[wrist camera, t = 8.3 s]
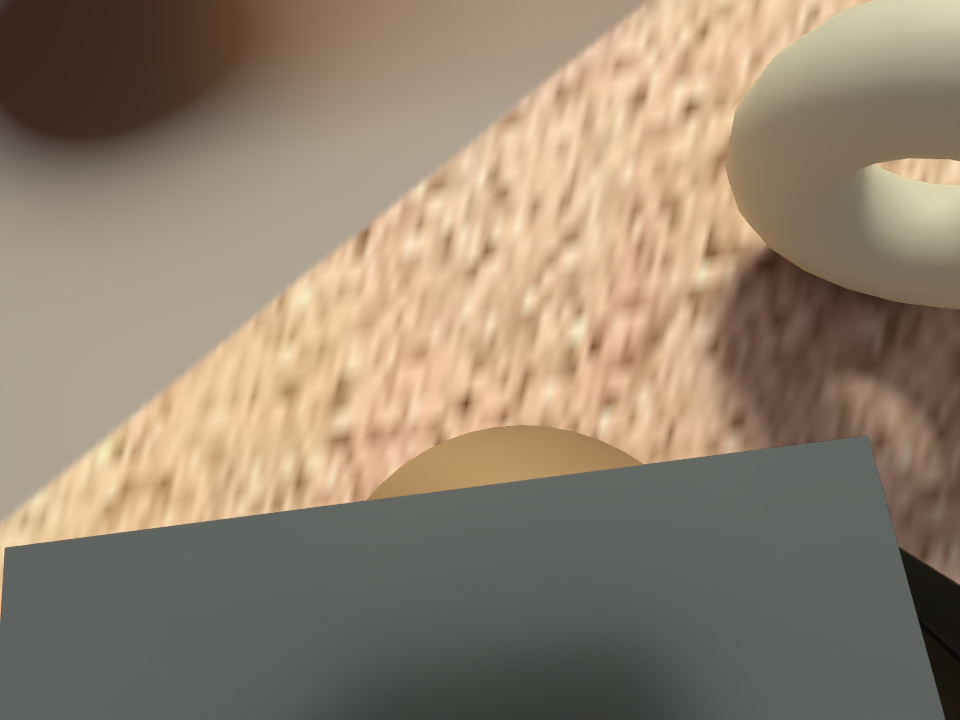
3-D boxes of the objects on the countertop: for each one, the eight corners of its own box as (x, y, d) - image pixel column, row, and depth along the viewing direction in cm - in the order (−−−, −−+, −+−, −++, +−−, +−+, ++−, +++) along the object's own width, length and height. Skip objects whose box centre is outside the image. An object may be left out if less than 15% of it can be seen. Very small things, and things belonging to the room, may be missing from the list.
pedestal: (668, 877, 17) (698, 958, 14) (307, 752, 19) (256, 798, 16) (738, 492, 20) (778, 483, 16) (410, 408, 21) (385, 383, 18)
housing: (662, 753, 15) (1245, 1817, 3) (431, 777, 15) (-76, 1844, 3) (621, 514, 16) (867, 435, 4) (409, 540, 17) (4, 546, 4)
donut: (1034, 262, 21) (1465, 18, 11) (1006, 365, 20) (1441, 201, 10) (710, 160, 22) (836, -127, 13) (675, 251, 22) (780, 21, 12)
